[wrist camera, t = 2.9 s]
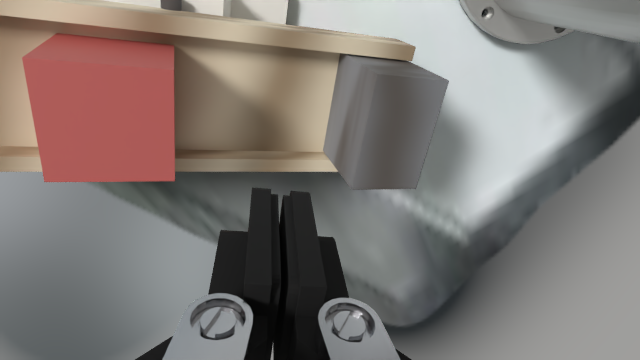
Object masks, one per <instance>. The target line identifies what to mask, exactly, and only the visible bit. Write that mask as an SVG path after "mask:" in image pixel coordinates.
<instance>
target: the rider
mask: <svg viewBox="0 0 640 360" xmlns="http://www.w3.org/2000/svg"><path fill="white" fill-rule="evenodd" d="M22 61H23V66H24V72H25V77H26V83H27V88H28V94H29V99H30V105H31V110H32V116H33V121H34V127H35V132H36V138H37V143H38V149H39V154H40V160H41V165H42V171H43V176H44V182H127V181H175V79H174V45H169V44H160V43H150V42H140V41H130V40H121V39H111V38H101V37H92V36H82V35H72V34H63V33H56V34H55V35H53V36H52V37H51V38H49V39H48V40H46V41H45V42H43V43H42V44H41V45H39V46H38V47H36V48H35V49H33V50H32V51H31V52H29V53H28V54H26V55H25V56H23V57H22Z"/></svg>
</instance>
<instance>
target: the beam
mask: <svg viewBox="0 0 640 360" xmlns="http://www.w3.org/2000/svg"><path fill="white" fill-rule="evenodd" d="M160 1H161V8H157V7H149V6H142V5H134V4H126V3H119V2H111V1H104V0H0V172H37V171H38V172H43V171H42V165H41V160H40V154H39V149H38V143H37V138H36V132H35V127H34V121H33V116H32V110H31V105H30V99H29V94H28V88H27V83H26V77H25V72H24V66H23V61H22V57H23V56H25V55H26V54H28V53H29V52H31V51H32V50H33V49H35V48H36V47H38V46H39V45H41V44H42V43H43V42H45V41H46V40H48V39H49V38H51V37H52V36H53V35H55V34H56V33H63V34H72V35H82V36H92V37H101V38H111V39H121V40H130V41H140V42H150V43H160V44H169V45H174V79H175V172H339V173H340V175H341V176H342V177H343V179H344V180H345V181H346V183H347V184H348V185H349V187H350V188H351V190H363V189H416V186H417V183H418V180H419V176H420V173H421V170H422V167H423V163H424V160H425V157H426V154H427V150H428V147H429V144H430V141H431V137H432V134H433V131H434V128H435V124H436V121H437V118H438V115H439V112H440V108H441V105H442V102H443V99H444V95H445V92H446V89H447V86H448V82H449V81H448V80H446V79H444V78H442V77H440V76H438V75H436V74H434V73H432V72H430V71H427V70H425V69H423V68H421V67H419V66H417V65H415V64H413V63H411V62H409V61H412V59H413V55H414V51H415V46H412V45H410V44H407V43H405V42H402V41H400V40H397V39H392V38H385V37H377V36H369V35H362V34H354V33H347V32H339V31H332V30H324V29H316V28H309V27H301V26H294V25H286V24H278V23H271V22H263V21H256V20H248V19H240V18H233V17H225V16H218V15H210V14H202V13H195V12H187V11H182V0H160Z"/></svg>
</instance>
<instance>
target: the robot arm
mask: <svg viewBox="0 0 640 360" xmlns="http://www.w3.org/2000/svg"><path fill="white" fill-rule="evenodd" d="M459 1H460V3H461V6H462V7H463V9H464V10H465V12H466V13H467V15H468V16H469V18H470V19H471V20H472V21H473V22H474V23H475V24H476V25H477V26H478V27H479V28H480V29H481V30H483V31H485V32H486V33H488V34H490V35H492V36H493V37H495V38H499V39H502V40H505V41H507V42H513V43H519V44H537V43H543V42H547V41H551V40H555V39H558V38H560V37H562V36H564V35H567V34H569V33H571V32H573V31H575V30H576V31H581V32H585V33H590V34H595V35H600V36H605V37H610V38H615V39H619V40H624V41H629V42H634V43H639V44H640V0H459ZM483 10H485V13H484V15H483V16H482V11H483ZM273 343H274V344H273ZM272 345H273V350H274V360H411V359H410V358H408V357H407V356H405V355H404V354H402V353H401V352H400V351H398V350H397V349H395V348H394V346H393V344H392V342H391V340H390V338H389V336H388V334H387V332H386V330H385V328H384V326H383V324H382V322H381V320H380V318H379V317H378V315H377V314H376V312H375V311H374V310H373V309H372V308H370V307H369V306H368V305H366V304H365V303H363V302H361V301H359V300H355V299H351V298H349V296H348V292H347V288H346V283H345V279H344V275H343V271H342V267H341V263H340V259H339V255H338V251H337V246H336V242H335V239H334V238H333V237H321V236H318V235H317V230H316V224H315V219H314V213H313V208H312V202H311V197H310V193H309V192H298V191H291V192H290V196H287V195H283V200H282V207H281V215H280V222H279V211H278V195H275V194H271V189H262V188H252V195H251V206H250V217H249V228H248V232H243V231H227V230H221V231H220V236H219V241H218V246H217V251H216V257H215V262H214V268H213V273H212V278H211V283H210V289H209V294H208V295H206V296H203V297H201V298H199V299H197V300H195V301H194V302H193V303H191V304H190V305H189V306H188V308H187V309H186V311H185V312H184V314H183V316H182V318H181V320H180V322H179V324H178V327H177V329H176V331H175V333H174V335H173V336H172V337H170V338H169V339H167V340H166V341H164V342H162V343H161V344H159V345H158V346H156V347H154V348H153V349H151V350H150V351H148V352H147V353H145V354H143V355H142V356H140V357H139V358H137V359H135V360H270V358H271V352H272Z"/></svg>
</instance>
